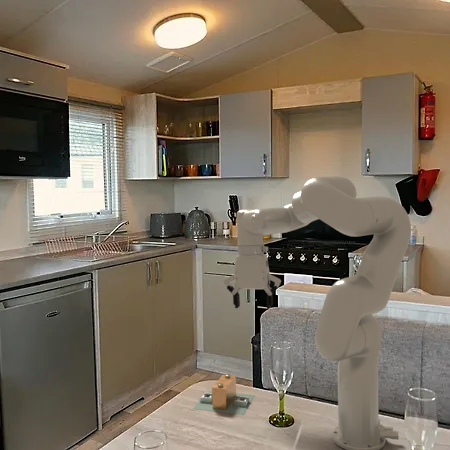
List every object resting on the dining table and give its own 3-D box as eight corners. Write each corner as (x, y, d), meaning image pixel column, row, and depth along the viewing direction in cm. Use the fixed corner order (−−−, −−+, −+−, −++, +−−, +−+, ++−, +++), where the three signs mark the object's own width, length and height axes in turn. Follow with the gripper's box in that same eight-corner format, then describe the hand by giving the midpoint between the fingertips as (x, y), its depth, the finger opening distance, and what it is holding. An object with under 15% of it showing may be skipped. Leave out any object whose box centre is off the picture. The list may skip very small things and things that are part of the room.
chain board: (255, 397, 148) (255, 395, 148) (243, 417, 135) (243, 414, 135) (207, 393, 152) (207, 390, 152) (192, 411, 140) (192, 408, 140)
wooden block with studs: (236, 395, 148) (235, 373, 147) (226, 409, 138) (225, 386, 138) (223, 394, 149) (222, 372, 149) (212, 408, 140) (211, 385, 139)
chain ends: (249, 401, 143) (249, 396, 143) (246, 406, 140) (246, 402, 140) (204, 397, 148) (203, 392, 147) (199, 401, 144) (199, 397, 144)
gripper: (281, 248, 148) (283, 305, 149) (226, 249, 153) (228, 304, 154) (277, 252, 141) (279, 311, 142) (219, 252, 146) (221, 310, 147)
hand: (253, 307), depth 148 cm, fingers open, 9 cm apart
